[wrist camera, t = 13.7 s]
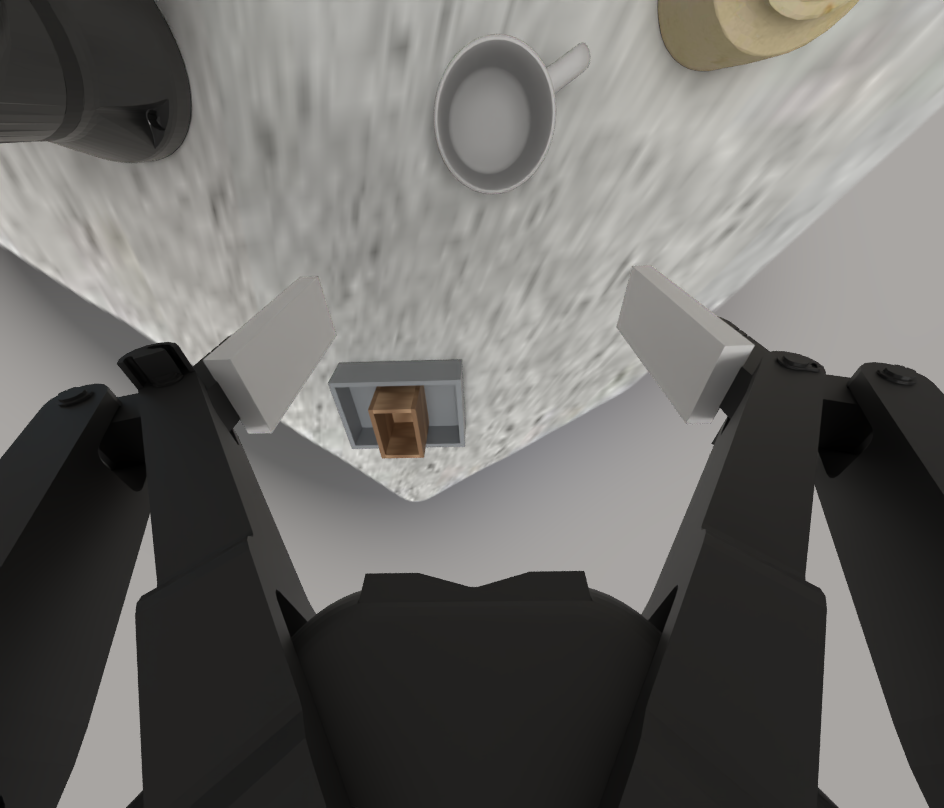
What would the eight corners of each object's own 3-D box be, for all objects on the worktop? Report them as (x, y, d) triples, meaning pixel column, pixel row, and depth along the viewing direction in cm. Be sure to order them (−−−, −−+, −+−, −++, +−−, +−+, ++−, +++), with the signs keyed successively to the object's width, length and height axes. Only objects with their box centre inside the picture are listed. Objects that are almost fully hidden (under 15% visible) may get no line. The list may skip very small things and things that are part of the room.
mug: (472, 197, 35) (472, 219, 27) (425, 103, 31) (406, 93, 22) (584, 120, 31) (625, 117, 23) (548, -1, 27) (583, -61, 18)
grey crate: (360, 426, 56) (352, 448, 52) (339, 362, 48) (327, 383, 44) (465, 424, 55) (465, 446, 52) (461, 359, 48) (460, 379, 44)
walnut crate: (391, 422, 54) (381, 458, 48) (380, 376, 48) (367, 410, 42) (429, 422, 54) (423, 457, 48) (422, 375, 48) (415, 409, 42)
